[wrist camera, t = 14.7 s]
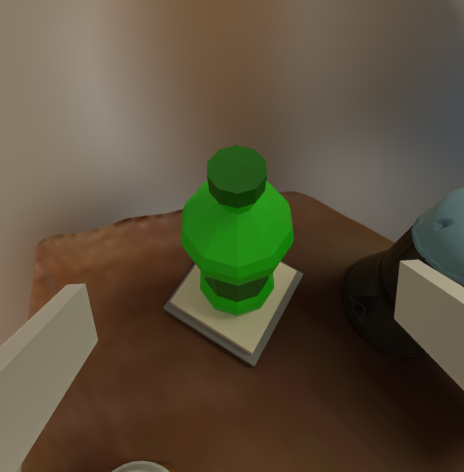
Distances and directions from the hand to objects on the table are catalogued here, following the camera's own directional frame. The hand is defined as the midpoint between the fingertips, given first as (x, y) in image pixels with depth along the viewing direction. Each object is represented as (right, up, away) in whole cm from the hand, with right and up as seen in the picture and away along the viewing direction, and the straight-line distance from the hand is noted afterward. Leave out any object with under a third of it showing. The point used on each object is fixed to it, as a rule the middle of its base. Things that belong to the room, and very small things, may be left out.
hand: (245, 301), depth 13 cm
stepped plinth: (0, -6, +34) cm, 35 cm away
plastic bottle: (0, -4, +31) cm, 31 cm away
